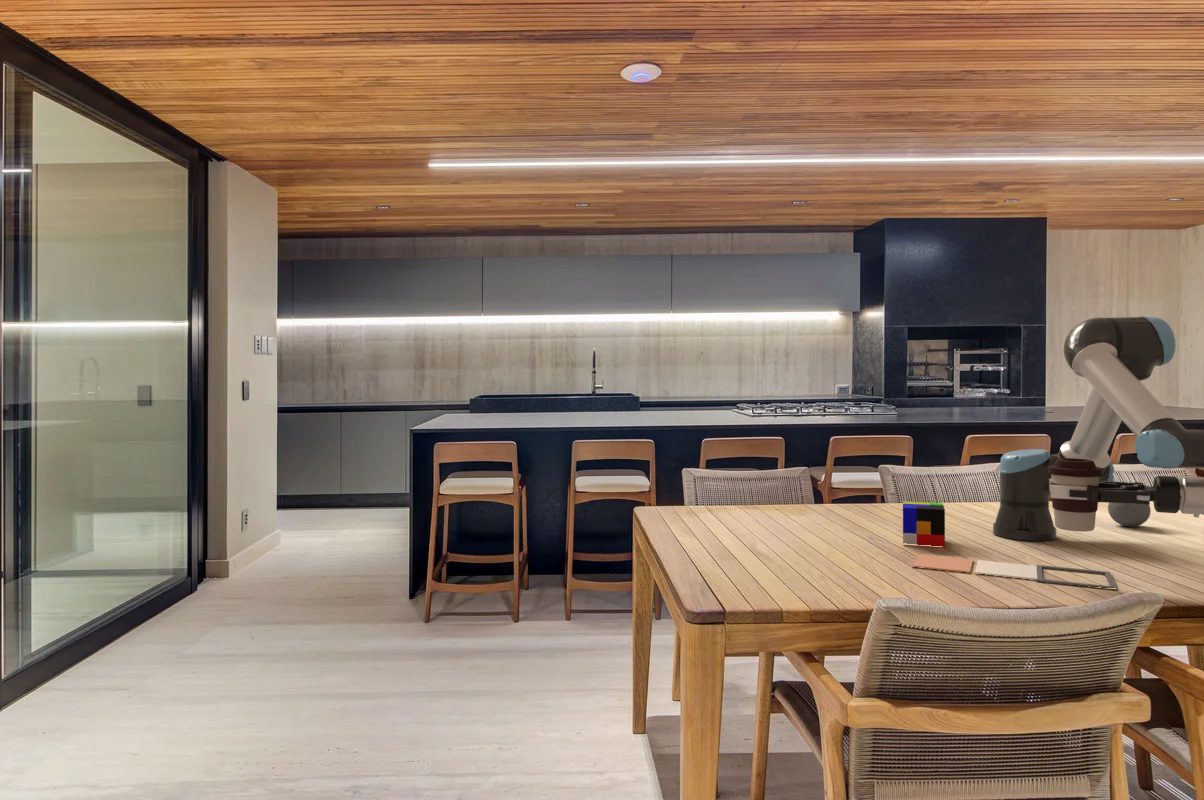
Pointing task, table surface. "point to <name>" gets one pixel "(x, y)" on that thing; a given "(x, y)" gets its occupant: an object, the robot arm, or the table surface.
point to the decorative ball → (1129, 513)
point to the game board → (1001, 569)
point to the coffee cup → (1072, 510)
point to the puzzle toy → (924, 523)
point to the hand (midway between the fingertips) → (1050, 488)
